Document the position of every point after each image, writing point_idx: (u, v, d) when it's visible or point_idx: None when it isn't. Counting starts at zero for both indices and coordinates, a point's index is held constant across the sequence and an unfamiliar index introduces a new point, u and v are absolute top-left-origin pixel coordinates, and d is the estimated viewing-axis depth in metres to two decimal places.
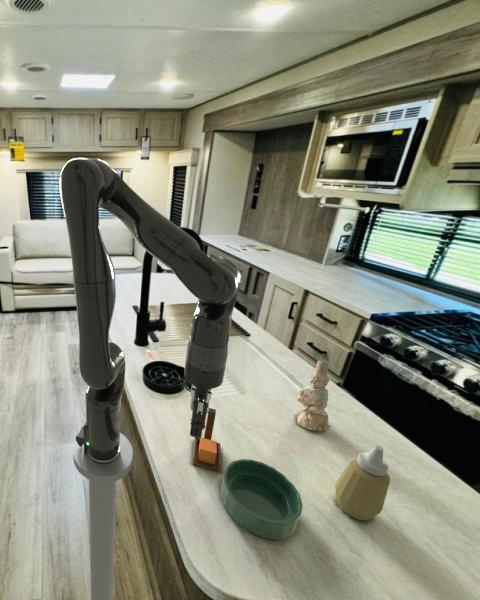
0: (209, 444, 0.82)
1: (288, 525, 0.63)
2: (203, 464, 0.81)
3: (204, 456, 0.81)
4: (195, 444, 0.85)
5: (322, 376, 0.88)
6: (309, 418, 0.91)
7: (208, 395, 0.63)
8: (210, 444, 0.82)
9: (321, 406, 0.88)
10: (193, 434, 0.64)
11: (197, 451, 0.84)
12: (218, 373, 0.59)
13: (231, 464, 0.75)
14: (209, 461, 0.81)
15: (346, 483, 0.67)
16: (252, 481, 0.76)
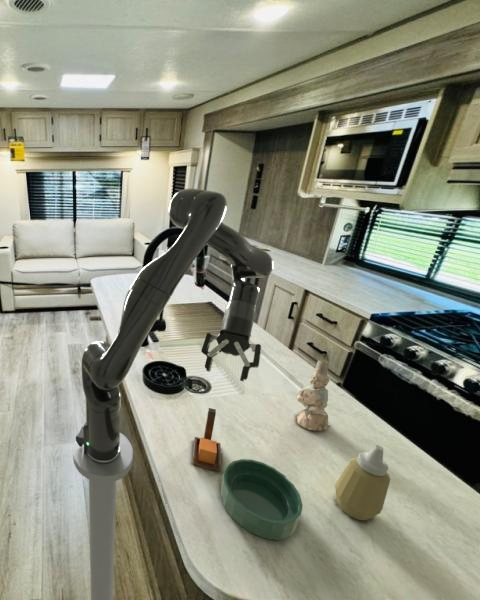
0: (209, 444, 0.82)
1: (288, 525, 0.63)
2: (203, 464, 0.81)
3: (204, 456, 0.81)
4: (195, 444, 0.85)
5: (322, 376, 0.88)
6: (309, 418, 0.91)
7: None
8: (210, 444, 0.82)
9: (321, 406, 0.88)
10: (246, 377, 0.81)
11: (197, 451, 0.84)
12: None
13: (231, 464, 0.75)
14: (209, 461, 0.81)
15: (346, 483, 0.67)
16: (252, 481, 0.76)
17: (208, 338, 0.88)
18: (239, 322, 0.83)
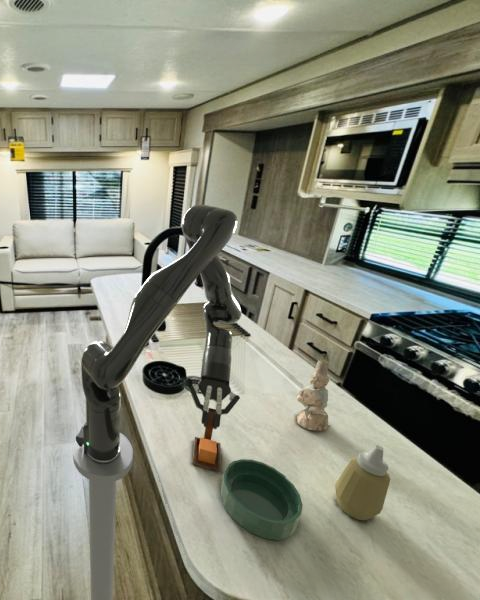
0: (209, 443, 0.82)
1: (288, 525, 0.63)
2: (203, 464, 0.81)
3: (204, 456, 0.81)
4: (195, 444, 0.85)
5: (322, 376, 0.88)
6: (309, 418, 0.91)
7: None
8: (210, 444, 0.82)
9: (321, 406, 0.88)
10: None
11: (197, 451, 0.85)
12: None
13: (231, 464, 0.75)
14: (209, 461, 0.81)
15: (346, 483, 0.67)
16: (252, 481, 0.76)
17: (193, 391, 0.86)
18: (220, 368, 0.85)
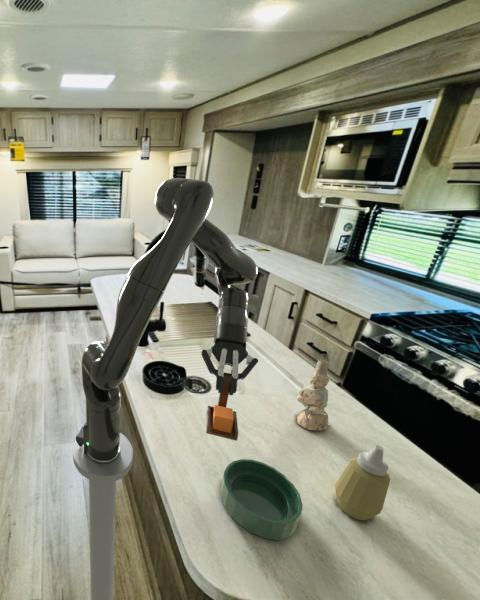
0: (224, 411, 0.74)
1: (288, 525, 0.63)
2: (218, 433, 0.73)
3: (219, 424, 0.73)
4: (209, 412, 0.77)
5: (322, 376, 0.88)
6: (309, 418, 0.91)
7: None
8: (226, 411, 0.74)
9: (321, 406, 0.88)
10: None
11: (211, 420, 0.77)
12: None
13: (231, 464, 0.75)
14: (225, 430, 0.73)
15: (346, 483, 0.67)
16: (252, 481, 0.76)
17: (206, 355, 0.79)
18: (237, 329, 0.77)
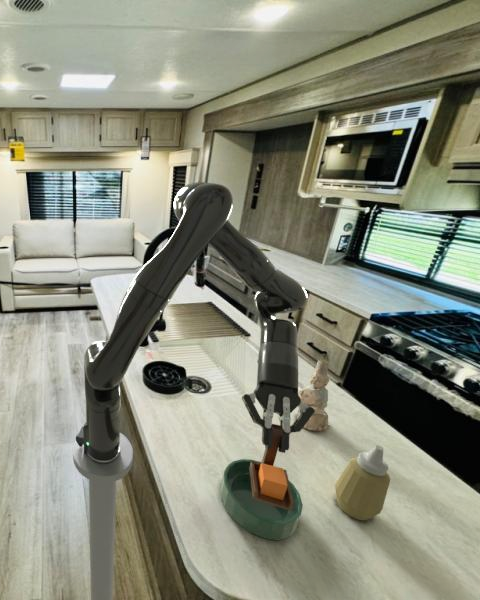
0: (274, 472, 0.62)
1: (288, 525, 0.63)
2: (268, 500, 0.60)
3: (269, 489, 0.61)
4: (253, 471, 0.64)
5: (322, 376, 0.88)
6: None
7: None
8: (276, 472, 0.61)
9: (321, 406, 0.88)
10: None
11: (256, 480, 0.64)
12: None
13: (231, 464, 0.75)
14: (276, 496, 0.61)
15: (346, 483, 0.67)
16: None
17: (250, 401, 0.66)
18: (287, 371, 0.64)
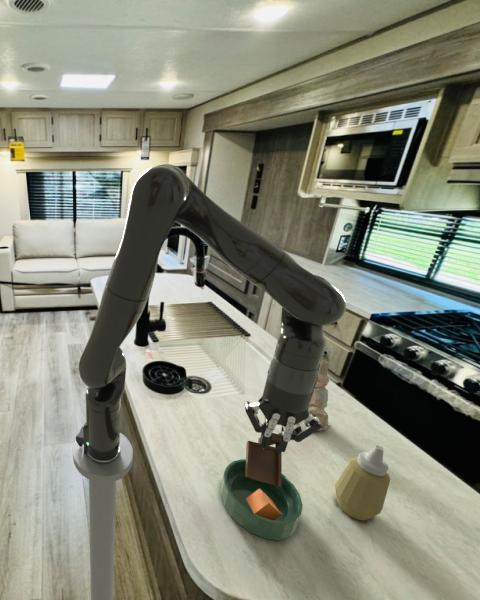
0: (270, 513, 0.65)
1: (288, 525, 0.63)
2: (258, 478, 0.69)
3: None
4: (249, 454, 0.70)
5: (322, 376, 0.88)
6: None
7: None
8: (271, 514, 0.65)
9: (321, 406, 0.88)
10: None
11: (251, 458, 0.71)
12: None
13: (231, 464, 0.75)
14: None
15: (346, 483, 0.67)
16: (252, 481, 0.76)
17: (252, 415, 0.63)
18: (299, 400, 0.56)
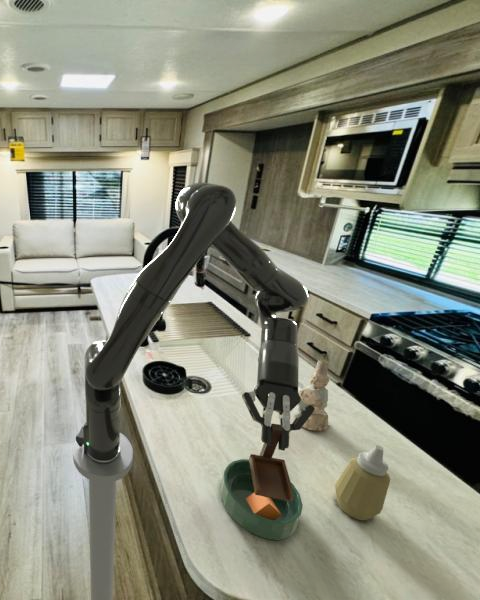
0: (270, 514, 0.65)
1: (288, 525, 0.63)
2: (269, 494, 0.63)
3: None
4: (254, 466, 0.66)
5: (322, 376, 0.88)
6: (309, 418, 0.91)
7: None
8: (271, 515, 0.65)
9: (321, 406, 0.88)
10: None
11: (257, 474, 0.66)
12: None
13: (231, 464, 0.75)
14: None
15: (346, 483, 0.67)
16: (252, 481, 0.76)
17: (250, 399, 0.67)
18: (287, 369, 0.65)
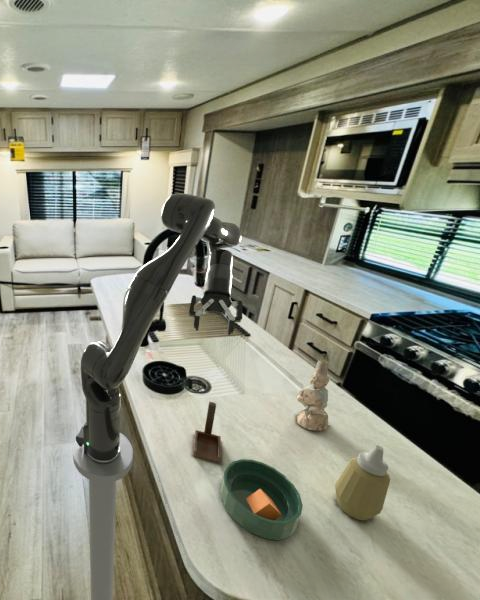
0: (270, 514, 0.65)
1: (288, 525, 0.63)
2: (204, 456, 0.83)
3: None
4: (196, 437, 0.87)
5: (322, 376, 0.88)
6: (309, 418, 0.91)
7: None
8: (271, 515, 0.65)
9: (321, 406, 0.88)
10: None
11: (198, 444, 0.87)
12: None
13: (231, 464, 0.75)
14: None
15: (346, 483, 0.67)
16: (252, 481, 0.76)
17: (194, 300, 0.93)
18: (222, 282, 0.90)
